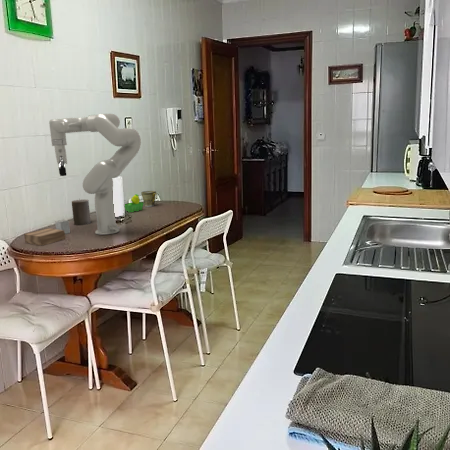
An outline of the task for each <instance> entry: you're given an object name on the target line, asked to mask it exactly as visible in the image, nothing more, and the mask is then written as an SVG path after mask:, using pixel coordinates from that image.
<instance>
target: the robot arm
mask: <svg viewBox="0 0 450 450" xmlns="http://www.w3.org/2000/svg"><path fill="white" fill-rule="evenodd" d="M120 123H121V122H120V118H119V117H118V116H117V114H115V113H99V114H91V115H88V116H86V117H85V116H84V117H83V116H82V117H66V118H54V119H50V120H49V123H48V124H49V132H50V139H51V146H52V147H54V154H55V158H56V162H57V163H56V164H57V165H58V173H59V176H60V177H65V176H67V170H66V165H68V159H67V158H68V157H67V151H66V146H67V145H68V144H67V143H68V141H67V135H66V134H71V133H83V132H84V133H85V132H90V133H95V132H96V133H97V132H98V133H99V134H100V135H101V136H102V137H104V138H105V139H106V140H107V141H108V142H109V143H110V144H111V145H113V146H115V147H119V149H118V150H117V151H116V152H115V153H114V154H113V155H112V156H111V157H110V158H109V159H105V160H101V161H98V162H97V163H96V164H94V166H93V167H92V168H91V169H90V170H89V171H88V173H87V174H86V175H85V177H84V179H83V180H82V188H83V190H84V191H85V193H87V194H88V195H94V207H95V208H94V209H95V217H96V224H97V229H96V230H95V233H94V234H96V235H99V236H100V235H101V236H102V235H103V236H106V235H113V234H116V233H119V232H120V228H121V227H120V226H118V223H116V218H115V213H114V204H113V190H114V180H113V179H114V178H117V177H119V176H120V175H121V174H122V172H123V171H125V169H126V168H127V167H128V165H129V164H130V163H131V162H132V161H133V159H134V158H135V157H136V156H137V154H138V153H139V151H140V148H141V144H142V141H141V139H142V138H141V136H140V133H139V132H138V131H137V130H136V129H134V128H131V127H125V128H119V126H120V125H121V124H120Z"/></svg>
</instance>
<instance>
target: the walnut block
mask: <svg viewBox="0 0 450 450" xmlns="http://www.w3.org/2000/svg"><path fill="white" fill-rule="evenodd" d="M23 235H24V241H25V244H29V243H30V245H35V246H40V245H41V246H42V245H43V246H46V245H49V244H53V243H57V242H60V241H64V240H66V234H65V231H64V230H58V229H56V228H44V229H41V230H40V229H39V230H36V231H31V232H26V233H24V234H23ZM43 246H42V247H43Z"/></svg>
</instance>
